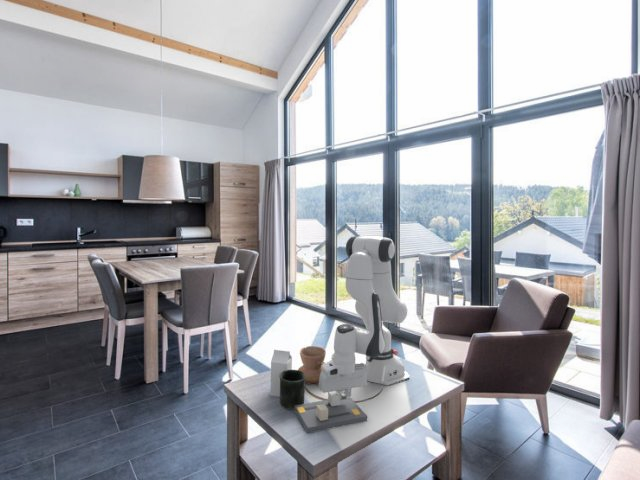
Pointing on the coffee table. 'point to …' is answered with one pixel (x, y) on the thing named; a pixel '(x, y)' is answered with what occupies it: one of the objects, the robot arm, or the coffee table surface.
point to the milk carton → (279, 369)
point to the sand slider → (322, 412)
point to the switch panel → (330, 415)
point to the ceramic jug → (312, 363)
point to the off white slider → (333, 398)
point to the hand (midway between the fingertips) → (342, 398)
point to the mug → (292, 388)
